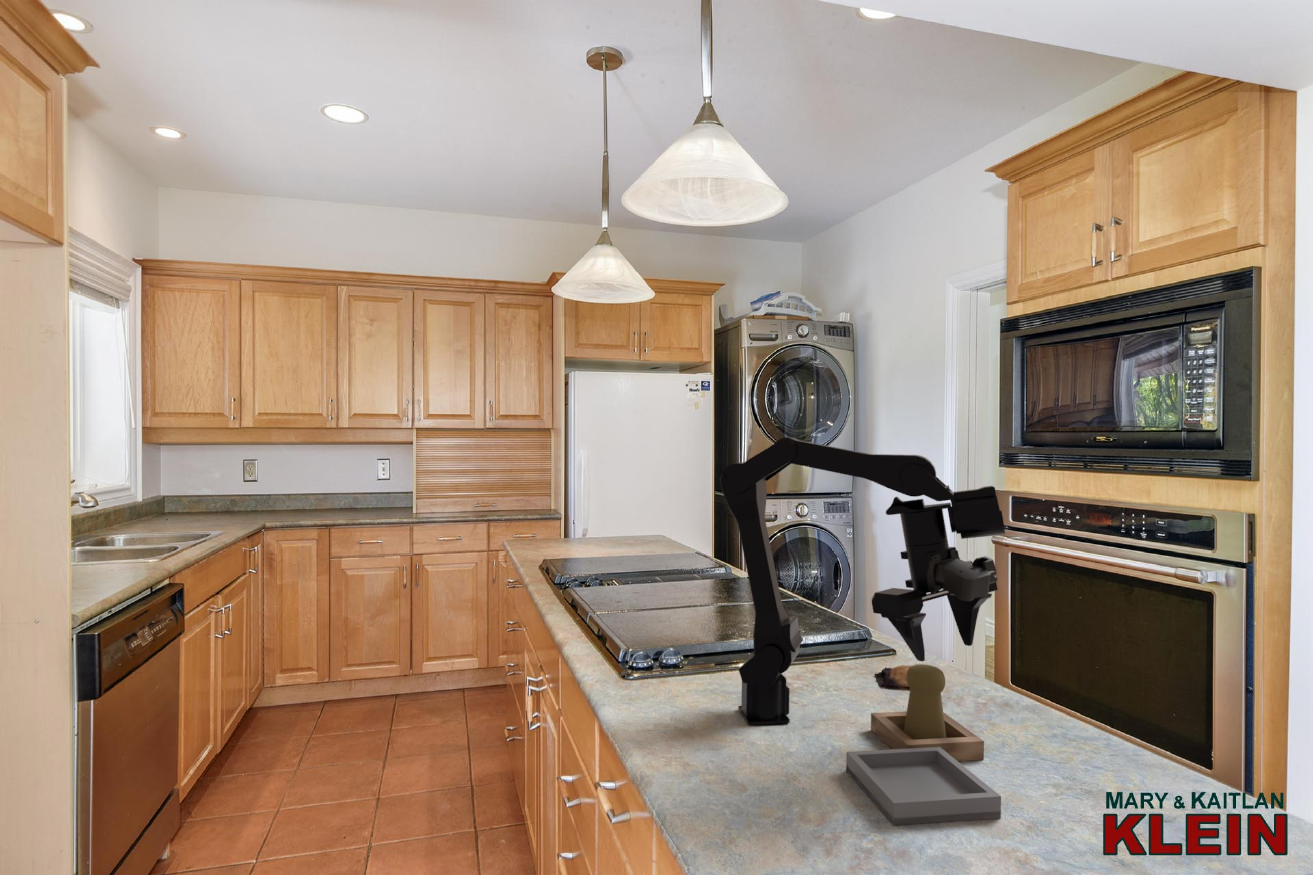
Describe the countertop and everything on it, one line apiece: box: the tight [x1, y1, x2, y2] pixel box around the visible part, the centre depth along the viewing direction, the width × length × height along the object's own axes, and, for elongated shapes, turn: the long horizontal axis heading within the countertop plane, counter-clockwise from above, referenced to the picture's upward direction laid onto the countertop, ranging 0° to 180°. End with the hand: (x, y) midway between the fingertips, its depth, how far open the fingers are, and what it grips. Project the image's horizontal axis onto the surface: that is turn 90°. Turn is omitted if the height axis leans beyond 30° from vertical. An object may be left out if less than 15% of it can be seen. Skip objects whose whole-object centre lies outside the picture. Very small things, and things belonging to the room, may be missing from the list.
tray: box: [845, 747, 1002, 826], centre depth 87 cm, size 13×13×2 cm
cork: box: [904, 663, 946, 740], centre depth 101 cm, size 6×6×11 cm
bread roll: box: [873, 664, 912, 692], centre depth 126 cm, size 11×8×4 cm
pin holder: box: [870, 710, 985, 762], centre depth 101 cm, size 11×11×2 cm
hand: (945, 652), depth 100 cm, fingers open, 9 cm apart
